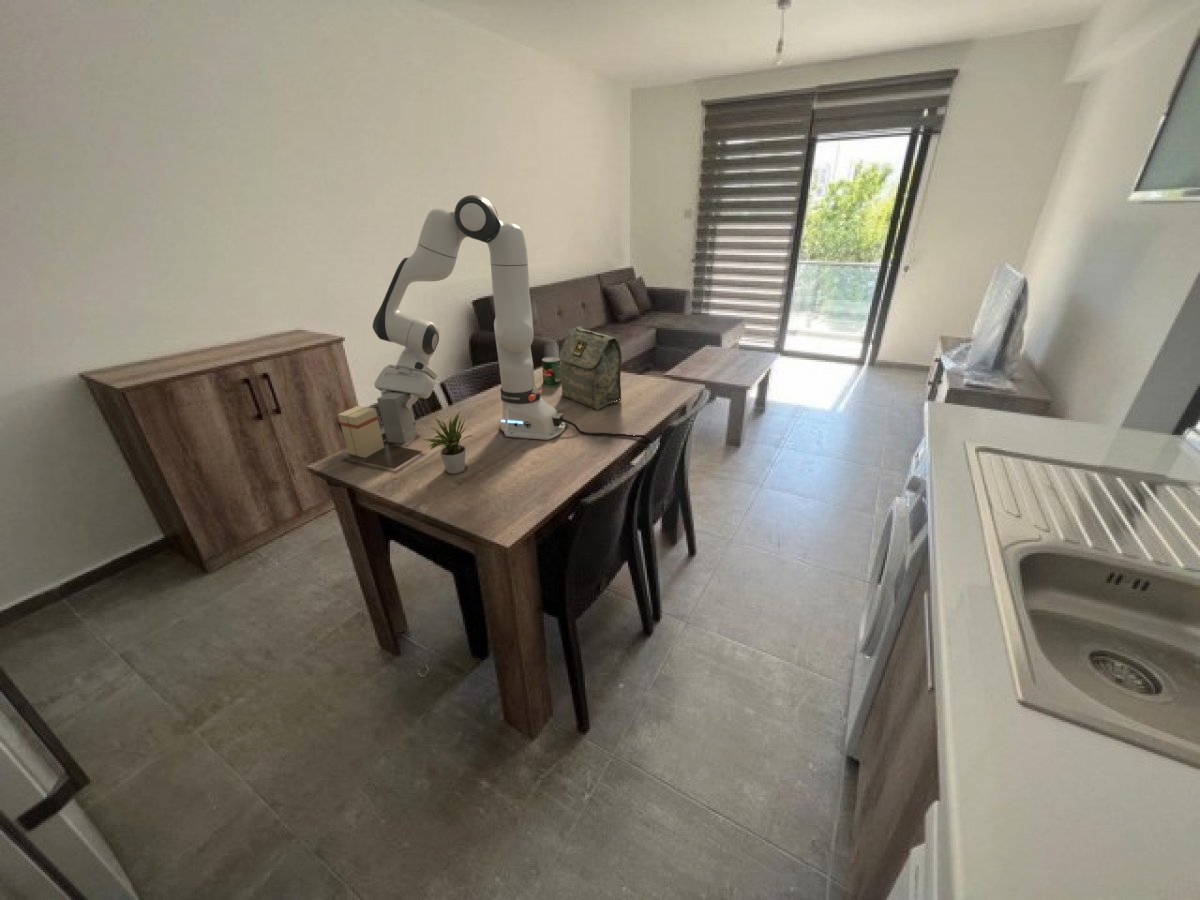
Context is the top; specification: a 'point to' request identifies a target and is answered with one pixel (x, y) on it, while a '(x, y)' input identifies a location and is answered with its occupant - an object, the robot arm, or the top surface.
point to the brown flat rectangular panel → (388, 456)
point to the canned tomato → (551, 371)
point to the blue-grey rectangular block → (383, 433)
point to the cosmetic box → (397, 417)
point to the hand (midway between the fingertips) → (394, 406)
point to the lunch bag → (591, 368)
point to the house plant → (450, 445)
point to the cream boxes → (361, 431)
